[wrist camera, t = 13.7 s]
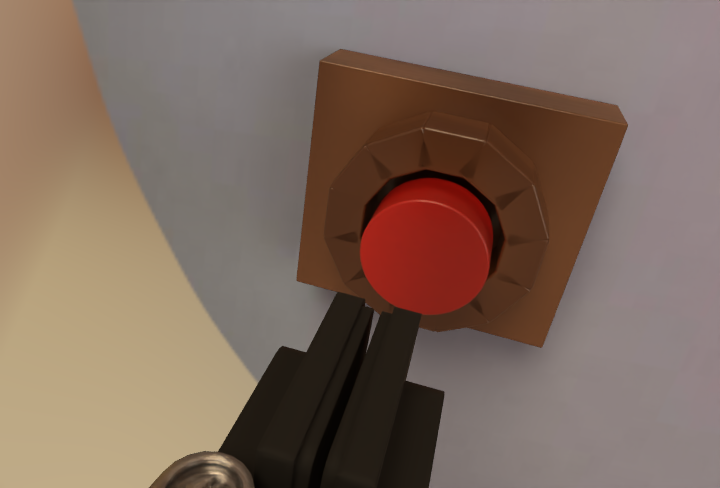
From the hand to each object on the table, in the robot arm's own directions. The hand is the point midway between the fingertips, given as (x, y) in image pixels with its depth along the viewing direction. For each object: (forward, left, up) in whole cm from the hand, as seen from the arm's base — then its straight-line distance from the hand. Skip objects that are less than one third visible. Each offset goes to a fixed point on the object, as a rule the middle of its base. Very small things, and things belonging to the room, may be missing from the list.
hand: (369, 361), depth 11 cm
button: (0, 0, -7) cm, 7 cm away
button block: (0, 0, -10) cm, 10 cm away
